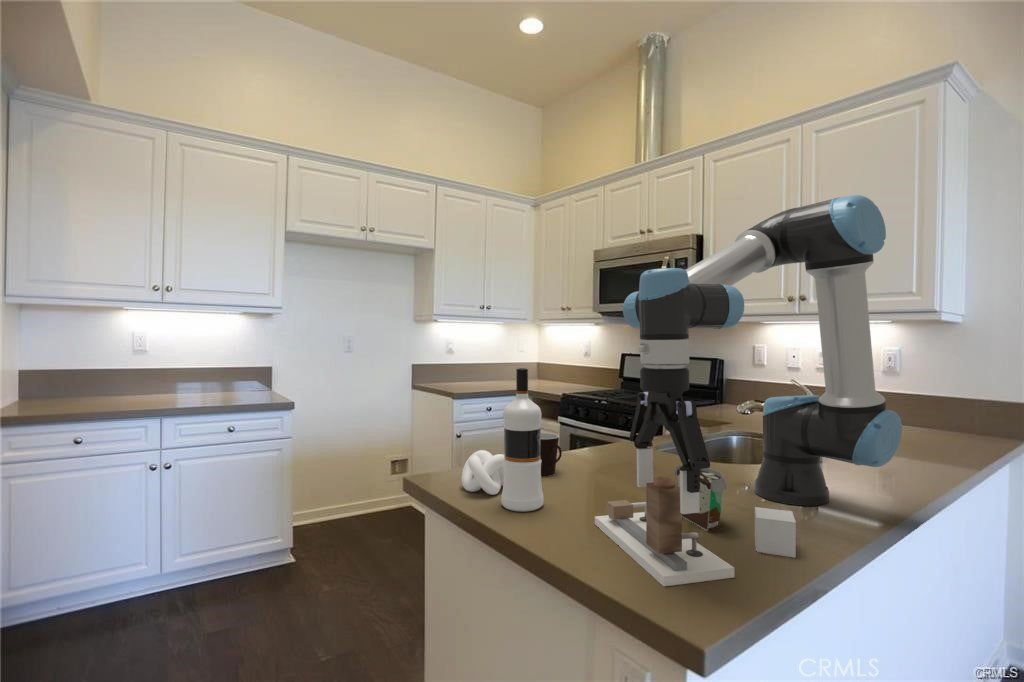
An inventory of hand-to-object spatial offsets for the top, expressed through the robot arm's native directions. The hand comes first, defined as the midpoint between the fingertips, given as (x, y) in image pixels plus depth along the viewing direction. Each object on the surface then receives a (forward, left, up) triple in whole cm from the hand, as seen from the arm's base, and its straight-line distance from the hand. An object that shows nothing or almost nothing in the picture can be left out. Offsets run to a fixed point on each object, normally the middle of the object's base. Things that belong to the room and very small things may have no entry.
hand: (665, 498), depth 83 cm
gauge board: (-2, -7, -11) cm, 13 cm away
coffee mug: (+3, -57, -11) cm, 58 cm away
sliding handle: (-2, 0, -9) cm, 9 cm away
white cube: (-22, -2, -11) cm, 25 cm away
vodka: (+15, -34, -11) cm, 39 cm away
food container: (-18, -16, -11) cm, 27 cm away
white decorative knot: (+20, -47, -11) cm, 52 cm away
